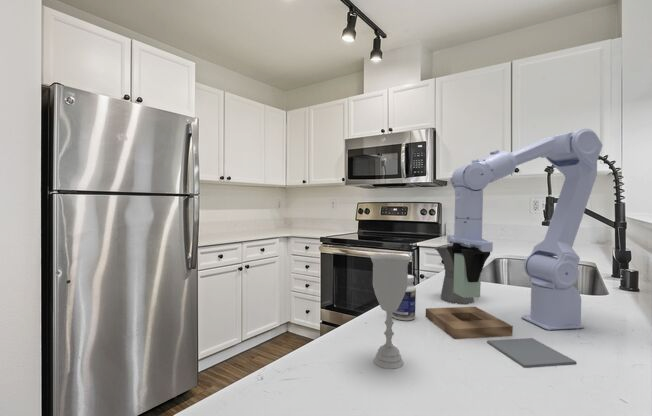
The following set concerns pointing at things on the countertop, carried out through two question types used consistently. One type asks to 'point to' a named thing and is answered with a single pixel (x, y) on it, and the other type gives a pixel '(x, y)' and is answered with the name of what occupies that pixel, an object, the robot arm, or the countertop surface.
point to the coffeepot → (450, 278)
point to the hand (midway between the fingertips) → (466, 279)
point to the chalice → (389, 300)
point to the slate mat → (530, 352)
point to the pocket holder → (468, 322)
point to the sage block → (464, 279)
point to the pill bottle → (407, 302)
